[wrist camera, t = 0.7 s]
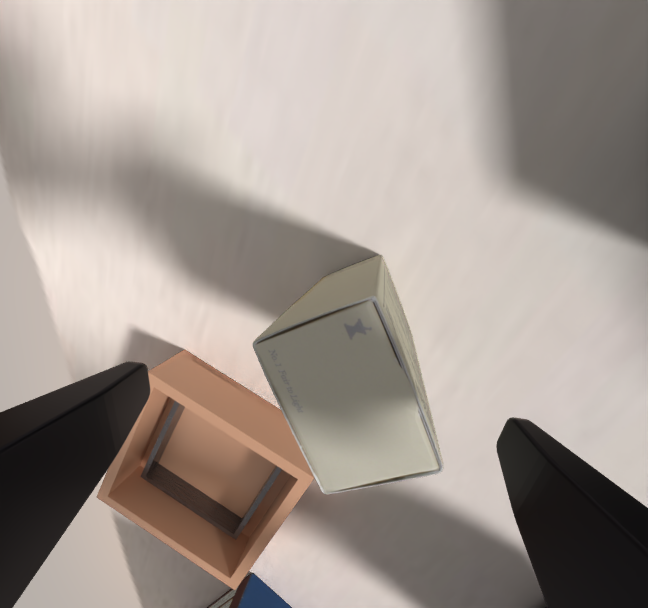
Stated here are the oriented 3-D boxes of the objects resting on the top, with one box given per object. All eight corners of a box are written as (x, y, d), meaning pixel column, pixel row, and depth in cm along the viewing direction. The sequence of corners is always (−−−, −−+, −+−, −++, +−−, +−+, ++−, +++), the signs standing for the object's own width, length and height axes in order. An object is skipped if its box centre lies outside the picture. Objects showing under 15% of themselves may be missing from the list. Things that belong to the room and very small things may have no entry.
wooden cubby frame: (326, 438, 25) (314, 477, 21) (256, 541, 28) (235, 590, 25) (184, 349, 25) (147, 371, 21) (135, 461, 29) (96, 497, 25)
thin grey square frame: (293, 447, 25) (287, 461, 23) (244, 523, 27) (236, 540, 26) (191, 382, 25) (178, 392, 24) (153, 463, 28) (140, 476, 27)
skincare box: (321, 276, 22) (240, 335, 10) (385, 251, 20) (375, 286, 9) (356, 359, 23) (317, 501, 11) (418, 340, 21) (448, 477, 10)
